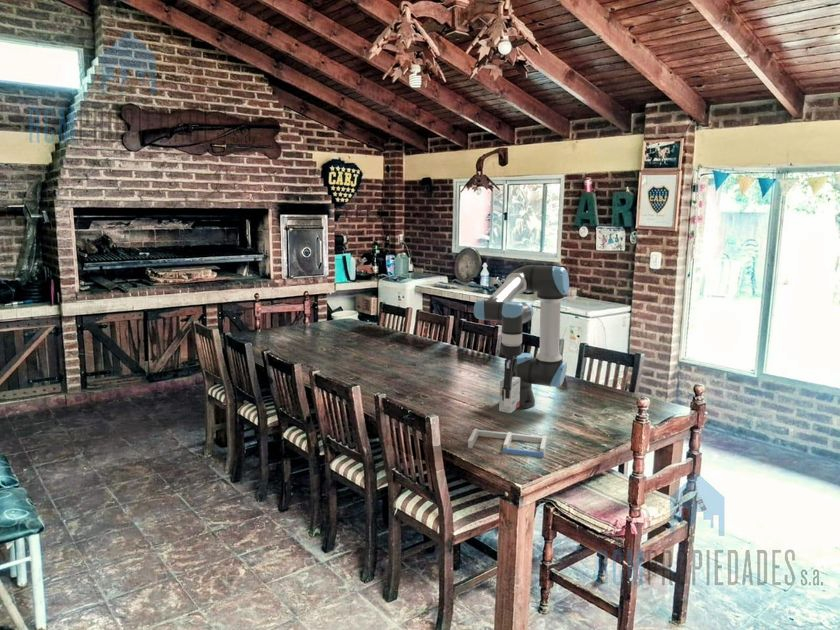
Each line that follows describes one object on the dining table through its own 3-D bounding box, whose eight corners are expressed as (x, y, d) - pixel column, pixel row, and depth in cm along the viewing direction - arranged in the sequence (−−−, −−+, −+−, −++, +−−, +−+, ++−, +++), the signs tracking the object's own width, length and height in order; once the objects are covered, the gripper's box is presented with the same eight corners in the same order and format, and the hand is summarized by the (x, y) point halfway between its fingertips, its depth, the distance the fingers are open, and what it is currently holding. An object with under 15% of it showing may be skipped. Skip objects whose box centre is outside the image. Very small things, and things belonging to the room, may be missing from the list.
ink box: (508, 404, 246) (509, 375, 244) (520, 406, 244) (521, 377, 241) (498, 411, 239) (499, 380, 237) (510, 413, 237) (511, 382, 234)
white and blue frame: (475, 434, 258) (475, 427, 258) (546, 441, 251) (547, 434, 250) (467, 448, 244) (467, 441, 243) (543, 457, 236) (543, 449, 236)
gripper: (506, 336, 248) (504, 392, 252) (495, 350, 227) (494, 410, 232) (525, 338, 246) (523, 394, 250) (517, 351, 225) (515, 412, 229)
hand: (509, 401), depth 241 cm, fingers closed on ink box, 9 cm apart
